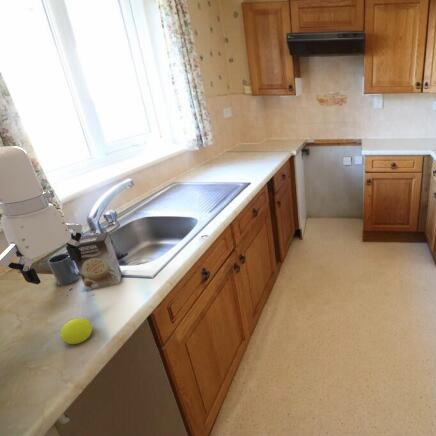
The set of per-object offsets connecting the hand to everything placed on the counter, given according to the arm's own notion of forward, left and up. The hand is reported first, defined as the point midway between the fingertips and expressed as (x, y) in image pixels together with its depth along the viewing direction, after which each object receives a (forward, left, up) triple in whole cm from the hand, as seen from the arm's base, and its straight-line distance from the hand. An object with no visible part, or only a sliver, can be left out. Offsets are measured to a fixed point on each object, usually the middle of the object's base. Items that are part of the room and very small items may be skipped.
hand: (57, 270), depth 77 cm
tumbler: (+11, +25, -17) cm, 33 cm away
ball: (-3, -5, -14) cm, 15 cm away
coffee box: (+15, +14, -18) cm, 27 cm away
